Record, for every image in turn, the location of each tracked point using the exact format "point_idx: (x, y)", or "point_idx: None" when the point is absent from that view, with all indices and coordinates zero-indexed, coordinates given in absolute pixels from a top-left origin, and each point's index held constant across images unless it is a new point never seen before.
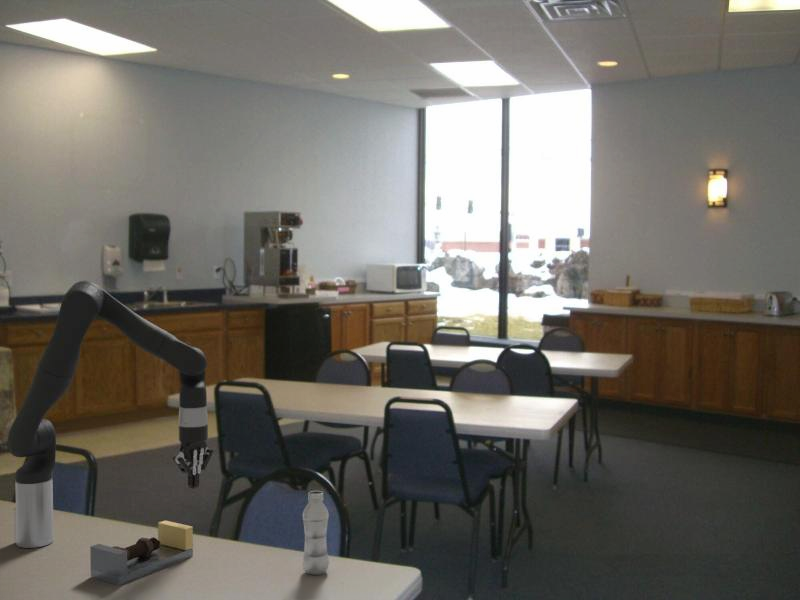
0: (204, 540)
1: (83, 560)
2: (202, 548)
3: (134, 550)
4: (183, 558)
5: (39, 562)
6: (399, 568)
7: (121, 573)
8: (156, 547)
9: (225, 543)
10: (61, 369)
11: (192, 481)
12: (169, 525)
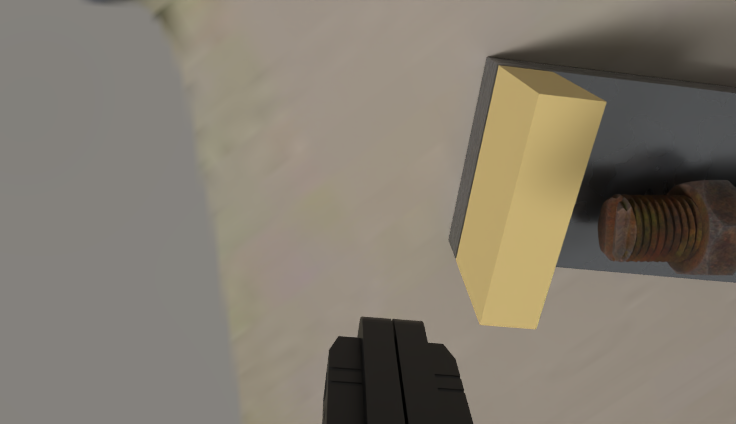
0: (257, 157)
1: (670, 407)
2: (364, 87)
3: None
4: (554, 66)
5: None
6: None
7: None
8: (642, 196)
9: (234, 20)
10: None
11: (449, 388)
12: (561, 244)
